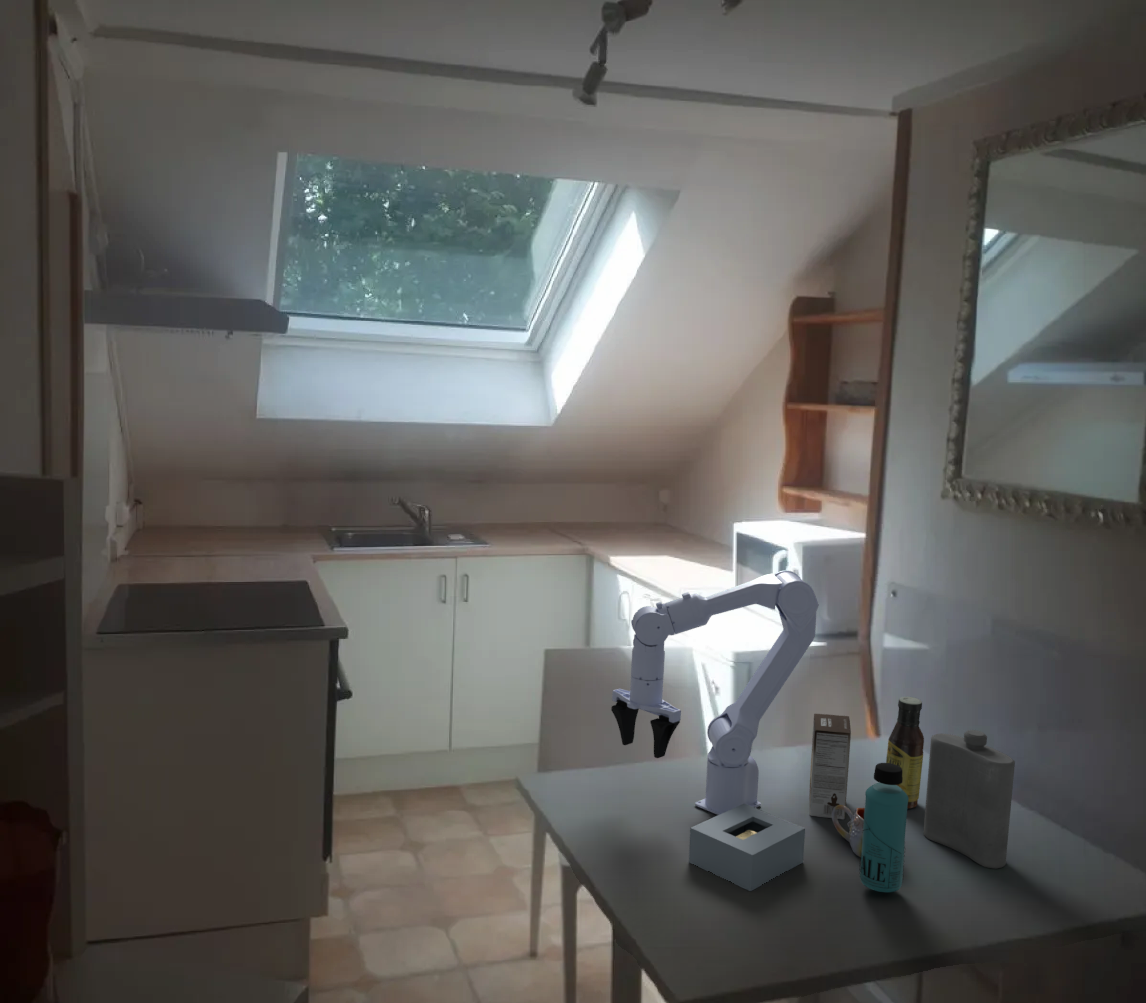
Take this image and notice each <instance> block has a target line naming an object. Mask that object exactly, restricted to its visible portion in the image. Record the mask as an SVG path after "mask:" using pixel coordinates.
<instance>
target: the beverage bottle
mask: <svg viewBox="0 0 1146 1003" xmlns="http://www.w3.org/2000/svg"><path fill="white" fill-rule="evenodd" d="M873 779H874V780H875V781H876V782H877V783H873V784H872V785H870V786H869V787H868V788H866V790H865V794H864V795H865V800H864V801H865V802H864V805H865V806H864V808H865V811H864V812H863V814H864V823H863V824H864V825H862V827H863V828H862V829H863V832H862V833H863V839H861V840H862V841H861V842H862V843H861V844H862V845H861V846H862V852H861V851H860V853H861V855H860V856H861V857H860V858H859V861H860V864H859V870H858V871H859V874H858V876H859V879H860V882H861V883H862V885H863V886H865V887H866V888H868V889H870V890H873V891H875V892H881V893H894V892H898V891H899V890H900V889H901V888H902V885H903V880H904V873H905V872H904V870H905V864H904V863H905V857H906V856H905V853H906V842H905V841H906V831H907V830H906V827H907V817H908V809H907V806H908V800H909V798H908V796H907V794H906V793H905V792H904V791H903V790H902V789H901V788H900V787H899V786H897V785H899V784H901V783H902V781H903V777H902V768H901V767H900V766H898V765H895V764H892V763H886V762H879V763H876V765H875V766H874V773H873Z"/></svg>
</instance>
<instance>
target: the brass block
mask: <svg viewBox="0 0 1146 1003" xmlns="http://www.w3.org/2000/svg"><path fill="white" fill-rule="evenodd" d="M756 833H757V832H754V831H752V830H747V831H746V832H744V833H742V834H740V835H738V836H736V837H738V838H740V839H742V840H744V839H746V838H748V837H750V836H752V835H754V834H756Z"/></svg>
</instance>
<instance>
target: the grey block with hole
mask: <svg viewBox="0 0 1146 1003" xmlns="http://www.w3.org/2000/svg"><path fill="white" fill-rule="evenodd" d="M747 830H752V831H754V832H757V833H756V834H754V835H752V836H750V837H748V838H746V839H744V840H742V839H740V838H738V837H736V836H738V835H740V834H742V833H744V832H746V831H747ZM689 833H690V834H689V850H688V852H689V853H688V863H689V864H692V865H693V864H694V865H693V866H695V865H696V866H695V867H697V866H698V867H697V868H700V869H702V870H704V871H706V872H708V871H710V872H712V873H713V874H712V873H711V874H712V875H714V874H715V876H717V877H719V876H720V877H719V878H721V877H722V878H721V879H723V878H724V879H723V880H725V879H726V880H725V881H727V880H728V881H727V882H729V881H731V882H732V883H731V882H730V883H731V884H733V883H734V884H733V885H736V886H738V887H739V888H742V889H744V890H746V891H748V892H752V891H754V890H755V889H757V888H759V887H761V886H763V885H765V884H766V882H767V883H769V882H770V881H772V880H774V879H775V877H776V876H778V877H779V876H781V875H783V874H785V873H786V872H785V871H787V872H788V871H789V870H793V868H796V867H798V866H799V865H800V864H802V863H804V853H805V838H806V828H805V827H804V826H801V825H799V824H796V823H793V822H791V821H788V820H786V819H784V818H782V817H779V816H776V815H774V814H771V813H768V812H766V811H764V810H761V809H759V808H758V807H756V808H754V807H752V806H749V805H747V804H742V805H740V806H738V807H735V808H733V809H731V810H729V811H726V812H724V813H722V814H720V815H716V816H713V817H711V818H709V819H707V820H703V821H702V822H700V823H698V824H696V825H694V826H691V827H690V831H689ZM710 872H709V873H710ZM784 872H785V873H784ZM782 873H783V874H782ZM780 874H781V875H780ZM773 878H774V879H773ZM776 878H777V877H776ZM771 879H772V880H771ZM769 880H770V881H769ZM764 883H765V884H764ZM762 884H763V885H762Z"/></svg>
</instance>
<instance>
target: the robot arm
mask: <svg viewBox="0 0 1146 1003" xmlns="http://www.w3.org/2000/svg"><path fill="white" fill-rule="evenodd" d="M753 605H758V606H762V607H765V608H768V609H771V610H776V609H777V610H778V613H779V617H780V621H781V624H782V631H781V633H780V634H779V636H777V639H776V640H775V641H774V643H773V644H772V647H771V648H770V649H769V651H768V652H767V654H766V655H765V657H764V659H763V660H762V662H761V663H760V665H759V666H758V667H757V669H756V670H755V672H754V673H753V675H752V676H751V677H750V679H749V681H748V683H747V684H746V686H745V687H744V689H743V690H742V691H741V693H740V694H739V696H738V697H737V699H736V701H735V702H733V703H731V704H729V705H728V706H726V707H725V709H724V710H723V712H722V713H720V714H719V715H718V716H716V717H715V718H713V719H712V720H711V721H710V722H709V724H708V726H707V738H708V740H709V741H710V743H711V744H712V746H711V748H710V750H709V752H708V753H707V758H706V759H707V761H706V779H705V781H706V783H705V798H703V799H701V800H697V801H695V802H694V805H695V807H698V808H700V809H703V810H705V811H708V812H709V813H712V814H715V815H716V816H718V815H720V814H722V813H724V812H726V811H729V810H731V809H733V808H735V807H738V806H740V805H742V804H747V805H749V806H752V807H754V808H758V807H760V806H762V802H760V801H758V793H759V792H758V791H759V790H758V789H759V773H760V772H759V766H758V764H757V761H756V759H755V758H754V757H753V756H751V754H752V747H753V746H752V745H753V742H754V741H755V739H756V738H757V736H758V730H759V725H760V724H759V723H760V721H761V719H762V718H763V716H764V714H766V712H767V710H768V709H769V707H770V706H771V704H772V703H773V701H774V700H775V698H776V697H777V695H778V694H779V692H780V691H781V689H782V687H783V686H784V685H785V684H786V682H787V680H789V679H788V678H789V677H790V676H791V674H792V672H793V671H794V670H795V668H796V667H797V665H798V664H799V663H800V661H801V659H802V658H803V657H804V655H805V653H806V652H807V650H808V649H809V647H810V646H811V644H813V641H814V639H815V638H816V629H817V628H816V626H817V611H818V608H819V606H820V604H819V601H818V599H817V596H816V593H815V591H814V589H813V587H812V586H811V585H810V584H809V583H807V582H806V581H804V580H803V579H802V578H801V577H800V576H799V575H798V574H797V573H796V572H794V571H791V570H780V571H778V572H776V573H769V574H764V575H762V576H759V577H757V578H755V579H752V580H749V581H746V582H744V583H741V584H739V585H735V586H733V587H731V588H727V589H725V590H722V591H719V592H717V593H714V594H712V595H709V596H706V597H705V596H702V595H700V594H698V593H693V594H690V592H689V591H687V592H684V593H682V594H681V597H680V598H678V599H677V598H676V599H673V600H670V601H667V602H664V603H662V601H659V602H656V603H655V606H656V607H655V606H651V605H647V606H643V607H640V608H639V609H638V610H637V611H636V612H635V613H634V615H633V617H632V619H631V620H630V623H631V628H632V630H633V631H634V635H633V640H632V645H633V647H632V651H631V664H630V666H631V667H630V687H629V690H627V689H622V688H618V689H617V688H616V689H613V690H612V693H611V695H612V698H611V700H612V702H615V704H614V705H611V707H610V708H611V709H610V710H611V712H612V714H613V716H614V718H615V721H616V722H617V725H618V729H619V734H620V738H621V743H622V745H623V746H628V745H631V744H633V742H634V738H635V728H636V722H637V717H638V713H639V711H644V712H646V713H649V714H653V715H656V716H657V717H658V718H657V717H656V718H654V719H651V720H650V722H649V723H650V725H651V730H652V735H653V757H654V759H660V758H663V757H665V755H666V752H667V748H668V745H669V744H670V740H671V737H672V736H673V734H674V732H675V730H676V729H677V727H678V726H679V725H680V723H681V717H682V716H681V714H682V710H681V709H679V708H677V707H675V706H673V705H672V704H671V703H669V702H668V701H666V700H664V699H663V693H664V677H665V676H664V674H665V673H664V672H665V659H666V658H665V657H666V656H665V655H666V652H665V642H666V640H667V638H668V637H669V636H676V635H678V634H681V633H684V632H688V631H691V630H693V629H697V628H701V627H702V626H706V625H707V624H708V622H709V621H710V618H711V617H712V616H714V615H715V616H716V615H719V614H722V613H727V612H730V611H734V610H738V609H741V608H745V607H748V606H749V607H750V606H753Z"/></svg>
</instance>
